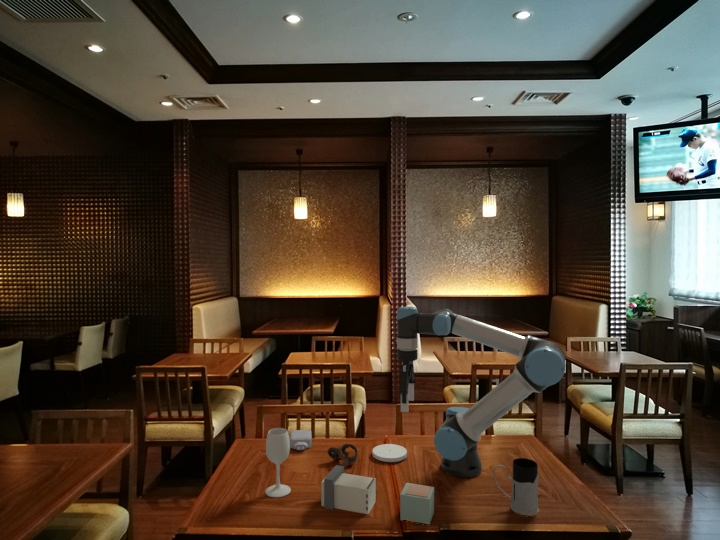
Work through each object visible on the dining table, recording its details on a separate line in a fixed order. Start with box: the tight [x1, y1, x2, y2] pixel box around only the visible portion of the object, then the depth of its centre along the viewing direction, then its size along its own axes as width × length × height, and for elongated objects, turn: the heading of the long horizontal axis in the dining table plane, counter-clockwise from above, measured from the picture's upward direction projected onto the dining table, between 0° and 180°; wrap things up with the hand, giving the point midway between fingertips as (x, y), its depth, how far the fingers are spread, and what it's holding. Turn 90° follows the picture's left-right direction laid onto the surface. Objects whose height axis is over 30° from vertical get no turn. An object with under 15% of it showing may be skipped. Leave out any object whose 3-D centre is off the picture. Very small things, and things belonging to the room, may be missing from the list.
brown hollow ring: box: [327, 443, 359, 468], centre depth 185 cm, size 12×10×8 cm
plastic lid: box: [372, 443, 408, 463], centre depth 192 cm, size 14×14×2 cm
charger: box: [289, 429, 313, 451], centre depth 201 cm, size 5×9×15 cm
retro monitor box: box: [399, 482, 435, 525], centre depth 147 cm, size 9×8×8 cm
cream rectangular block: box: [320, 464, 377, 515], centre depth 155 cm, size 16×10×10 cm, turn 71°
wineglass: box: [264, 427, 292, 498], centre depth 163 cm, size 9×9×21 cm
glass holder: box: [493, 457, 540, 515], centre depth 152 cm, size 9×14×15 cm, turn 81°
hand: (407, 405), depth 175 cm, fingers open, 13 cm apart
